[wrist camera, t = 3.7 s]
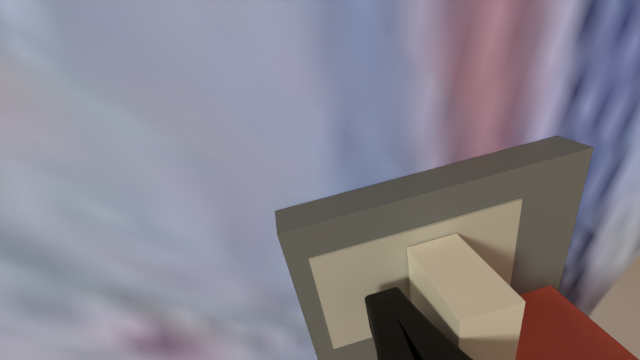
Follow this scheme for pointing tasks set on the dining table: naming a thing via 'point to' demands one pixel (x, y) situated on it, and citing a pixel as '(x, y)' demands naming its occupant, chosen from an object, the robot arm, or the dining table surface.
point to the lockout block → (562, 331)
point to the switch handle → (465, 298)
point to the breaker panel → (431, 233)
